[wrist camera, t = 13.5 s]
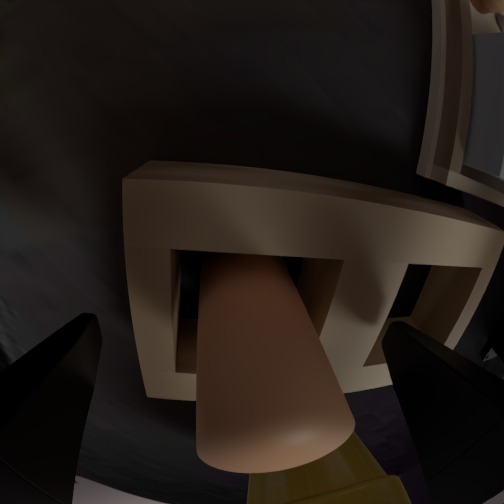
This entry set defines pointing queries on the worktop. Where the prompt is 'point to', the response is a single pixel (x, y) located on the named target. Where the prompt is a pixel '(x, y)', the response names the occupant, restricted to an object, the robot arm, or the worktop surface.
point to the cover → (487, 106)
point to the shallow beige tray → (456, 95)
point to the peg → (261, 371)
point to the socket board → (299, 245)
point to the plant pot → (330, 480)
